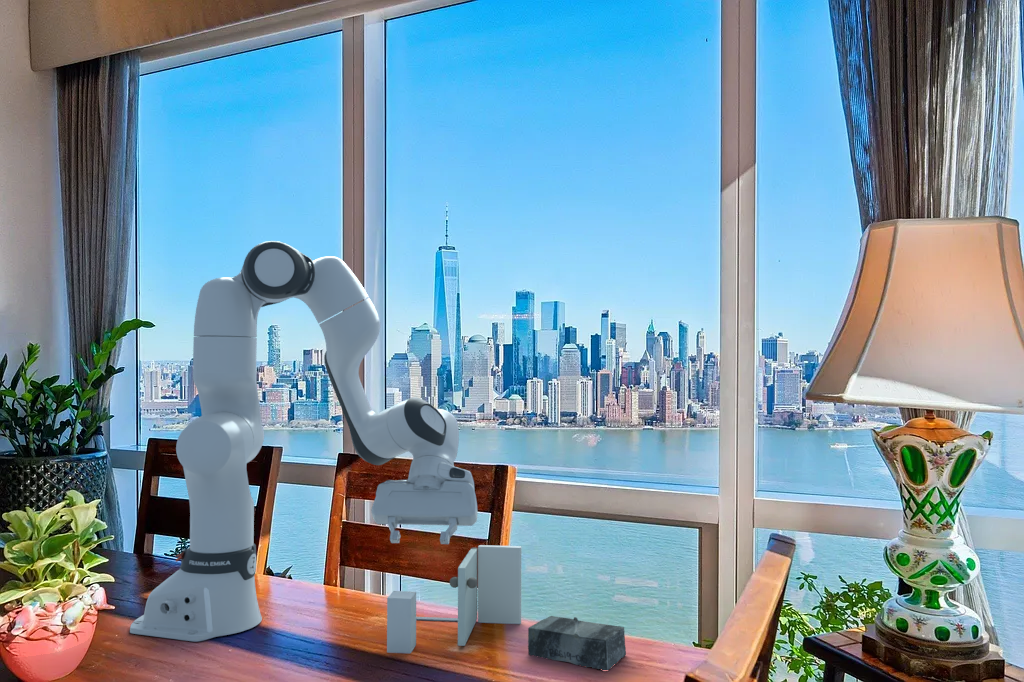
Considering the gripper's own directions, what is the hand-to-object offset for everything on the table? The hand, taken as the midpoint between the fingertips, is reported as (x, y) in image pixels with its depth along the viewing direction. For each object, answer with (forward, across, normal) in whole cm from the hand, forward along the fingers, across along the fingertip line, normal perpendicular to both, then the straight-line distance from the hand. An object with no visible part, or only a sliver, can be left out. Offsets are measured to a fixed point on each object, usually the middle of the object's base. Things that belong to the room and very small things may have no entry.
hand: (419, 542), depth 143 cm
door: (+13, +10, +7) cm, 18 cm away
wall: (+9, +7, +12) cm, 17 cm away
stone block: (+19, +30, +3) cm, 35 cm away
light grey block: (+19, 0, +2) cm, 19 cm away
